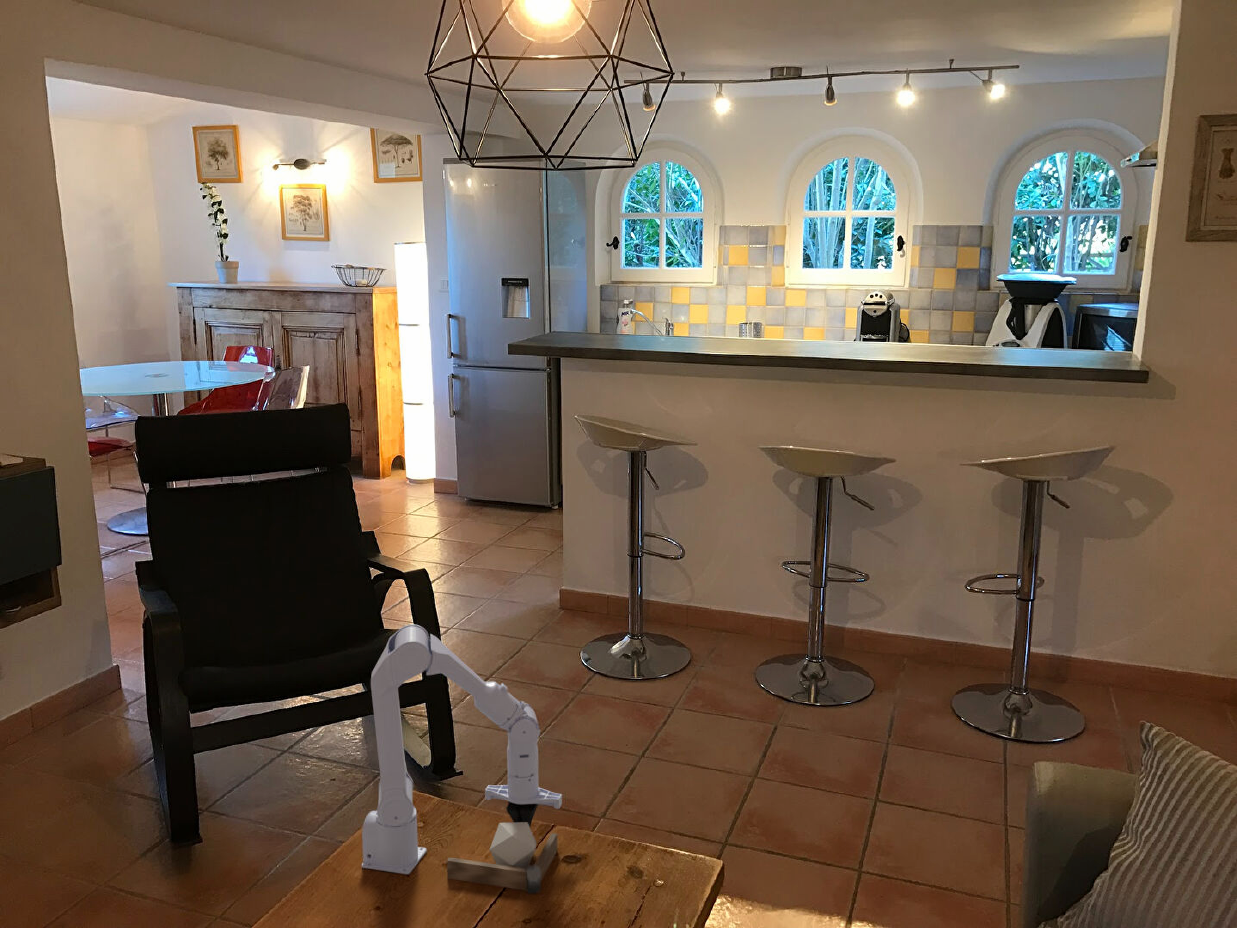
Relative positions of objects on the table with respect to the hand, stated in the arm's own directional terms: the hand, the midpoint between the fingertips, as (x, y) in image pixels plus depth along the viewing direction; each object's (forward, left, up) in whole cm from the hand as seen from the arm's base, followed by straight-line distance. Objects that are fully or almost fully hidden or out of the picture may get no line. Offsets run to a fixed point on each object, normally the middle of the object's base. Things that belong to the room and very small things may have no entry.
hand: (524, 836), depth 189 cm
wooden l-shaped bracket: (-1, -7, -2) cm, 7 cm away
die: (0, -6, -2) cm, 7 cm away
